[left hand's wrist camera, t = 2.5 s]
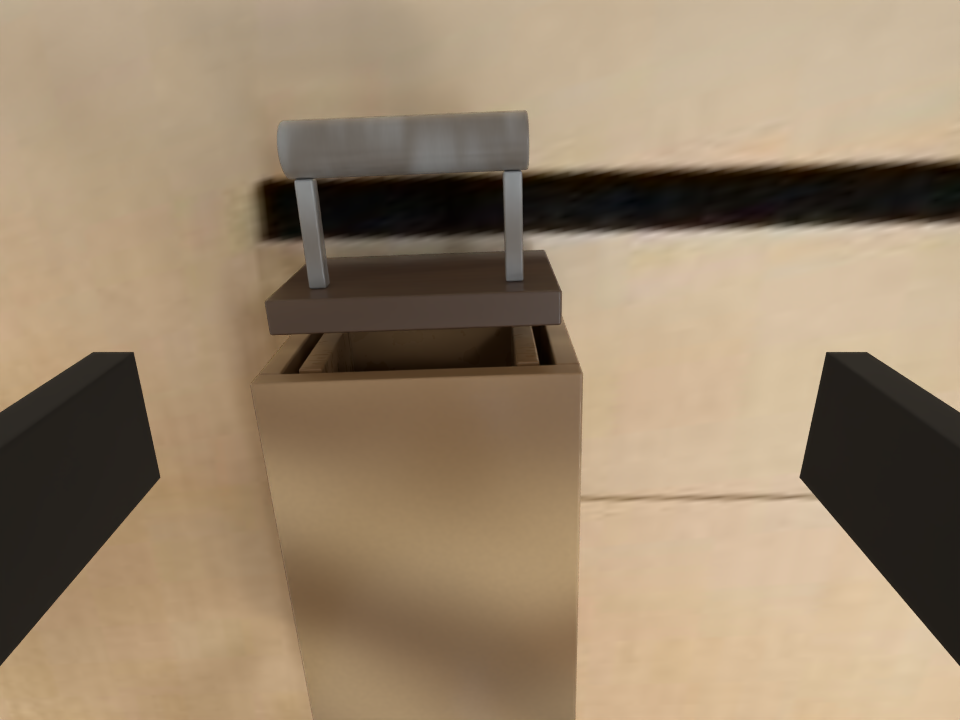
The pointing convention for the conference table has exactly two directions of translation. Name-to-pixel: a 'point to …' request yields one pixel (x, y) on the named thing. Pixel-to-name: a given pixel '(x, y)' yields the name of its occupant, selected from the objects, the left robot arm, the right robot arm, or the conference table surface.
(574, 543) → the cabinet
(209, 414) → the conference table surface
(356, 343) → the drawer
